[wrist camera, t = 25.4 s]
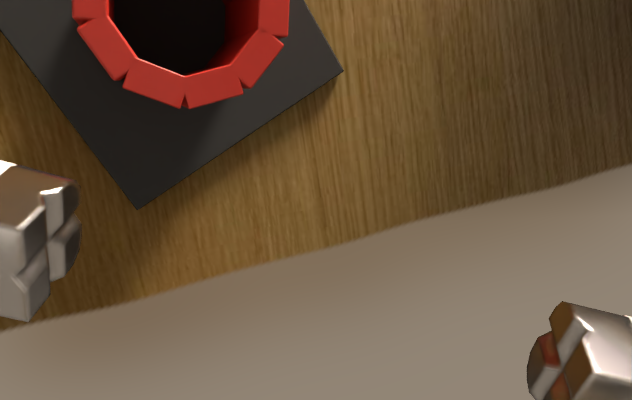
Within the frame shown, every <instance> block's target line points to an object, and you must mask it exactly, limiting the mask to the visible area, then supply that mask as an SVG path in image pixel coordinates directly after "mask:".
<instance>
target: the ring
mask: <svg viewBox="0 0 632 400" xmlns="http://www.w3.org/2000/svg"><path fill="white" fill-rule="evenodd" d="M222 2H223V3H224V5H225V40H224V43H223V44H222V46H221V47H220V48H219V50H218V51H217V52H216V53H215V55H214V56H213V57H212V59H211V60H210V61H209V62H208V64H207V65H206V66H205V68H204V69H200V70H197V71H193V72H189V73H185V74H181V75H180V74H178V73H175V72H173V71H170V70H167V69H165V68H162V67H160V66H157V65H155V64H152V63H149V62H147V61H144V60H142V59H139V58H138V57H137V55H136V54H135V52H134V51H133V50H132V48H131V47H130V45H129V44H128V43H127V41H126V40H125V38H124V37H123V35H122V34H121V33H120V31H119V30H118V28H117V27H116V25H115V24H114V0H72V17H73V19H74V20H75V21H76V22H77V23H78V24H79V25H80V26H79V27H78V28H77V32H78V33H79V34H80V36H81V37H82V39H83V40H84V41H85V43H86V44H87V45H88V47H89V48H90V50H91V51H92V52H93V54H94V55H95V56H96V58H97V59H98V61H99V62H100V63H101V65H102V66H103V68H104V69H105V70H106V72H107V73H108V74H109V76H110V77H111V79H112V80H114V81H119V80H121V79H123V78H125V80H124V83H123V85H122V88H123V89H126V90H129V91H132V92H134V93H137V94H140V95H143V96H145V97H148V98H151V99H153V100H156V101H159V102H162V103H164V104H167V105H170V106H173V107H175V108H178V109H180V108H181V105H182V106H184V107H186V108H188V109H193V108H196V107H200V106H204V105H207V104H211V103H214V102H218V101H222V100H225V99H229V98H233V97H236V96H240V95H243V90H242V88H246V89H251V88H252V87H253V86H254V85H255V83H256V82H257V81H258V80H259V78H260V77H261V76H262V74H263V73H264V72H265V70H266V69H267V68H268V67H269V65H270V64H271V63H272V61H273V60H274V59H275V58H276V56H277V55H278V54H279V52H280V51H281V50H282V48H283V47H284V44H283V43H282V42H281V41H279V40H278V39H281V38H285V37H287V36H288V23H289V2H290V0H222Z"/></svg>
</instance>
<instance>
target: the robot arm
mask: <svg viewBox="0 0 632 400" xmlns="http://www.w3.org/2000/svg"><path fill="white" fill-rule="evenodd" d="M80 204H81V186H80V185H79V184H78V182H77V181H76V180H73V179H70V178H66V177H62V176H58V175H55V174H51V173H47V172H44V171H40V170H36V169H33V168H29V167H25V166H22V165H16V164H14V163H10V162H6V161H2V160H0V316H3V317H7V318H12V319H16V320H21V321H25V322H29V321H30V320H31V318H32V317H33V316H34V315H35V313H36V312H37V311H38V310H39V308H40V307H41V306H42V305H43V303H44V302H45V301H46V299H47V298H48V297H49V296H50V282H52V281H55V280H57V279H60V278H62V277H64V276H65V275H66V274H67V272H68V271H69V270H70V268H71V267H72V266H73V264H74V261H75V259H76V257H77V254H78V252H79V249H80V244H81V238H82V224H81V222H80V221H79V219H78V218H77V217H76V215H75V214H74V211H75V209H76V208H77V207H78V206H79V205H80ZM549 321H550V325H551V328H552V331H550V332H548V333H546V334H544V335H542V336H540V337H538V338H537V340H536V342H535V344H534V346H533V348H532V350H531V352H530V356H529V361H528V365H527V383H528V388H529V393H530V394H531V395H532V396H533V397H534V399H535V400H632V317H630V316H626V315H622V316H621V315H617V314H613V313H609V312H605V311H600V310H597V309H592V308H588V307H584V306H579V305H576V304H572V303H567V302H563V301H562V302H561V303H560V304H559V305H558V306H556V308H555V309H554V311H553V312H552V314H551V316H550V317H549Z"/></svg>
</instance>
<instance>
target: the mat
mask: <svg viewBox="0 0 632 400" xmlns="http://www.w3.org/2000/svg"><path fill="white" fill-rule="evenodd" d="M114 24H115V25H116V27H117V28H118V30H119V31H120V33H121V34H122V35H123V37H124V38H125V40H126V41H127V43H128V44H129V45H130V47H131V48H132V50H133V51H134V52H135V54H136V55H137V57H138V58H139V59H142V60H144V61H147V62H149V63H152V64H155V65H157V66H160V67H162V68H165V69H167V70H170V71H173V72H175V73H178V74H180V75H181V74H185V73H189V72H193V71H197V70H200V69H204V68H205V66H206V65H207V64H208V62H209V61H210V60H211V59H212V57H213V56H214V55H215V53H216V52H217V51H218V50H219V48H220V47H221V46H222V44H223V43H224V40H225V5H224V3H223V2H222V0H114ZM79 26H80V25H79V24H78V23H77V22H76V21H75V20H74V19H73V17H72V0H0V31H1V32H2V33H3V35H4V36H5V37H6V39H7V40H8V41H9V42H10V44H11V45H12V46H13V48H14V49H15V50H16V52H17V53H18V54H19V56H20V57H21V58H22V60H23V61H24V62H25V63H26V65H27V66H28V67H29V69H30V70H31V71H32V73H33V74H34V75H35V77H36V78H37V79H38V81H39V82H40V83H41V84H42V86H43V87H44V88H45V90H46V91H47V92H48V94H49V95H50V96H51V98H52V99H53V100H54V102H55V103H56V104H57V105H58V107H59V108H60V109H61V111H62V112H63V113H64V115H65V116H66V117H67V119H68V120H69V121H70V123H71V124H72V125H73V126H74V128H75V129H76V130H77V132H78V133H79V134H80V136H81V137H82V138H83V140H84V141H85V142H86V144H87V145H88V146H89V147H90V149H91V150H92V151H93V153H94V154H95V155H96V157H97V158H98V159H99V161H100V162H101V163H102V165H103V166H104V167H105V168H106V170H107V171H108V172H109V174H110V175H111V176H112V178H113V179H114V180H115V182H116V183H117V184H118V186H119V187H120V188H121V189H122V191H123V192H124V193H125V195H126V196H127V197H128V199H129V200H130V201H131V203H132V204H133V205H134V207H135V208H136V209H137V210H138V209H140V208H141V207H143V206H144V205H146V204H147V203H149V202H150V201H152V200H153V199H155V198H156V197H158V196H159V195H161V194H162V193H164V192H165V191H167V190H168V189H170V188H171V187H172V186H174V185H175V184H177V183H178V182H180V181H181V180H183V179H184V178H186V177H187V176H189V175H190V174H192V173H193V172H195V171H196V170H198V169H199V168H201V167H202V166H204V165H205V164H207V163H208V162H210V161H211V160H213V159H214V158H216V157H217V156H218V155H220V154H221V153H223V152H224V151H226V150H227V149H229V148H230V147H232V146H233V145H235V144H236V143H238V142H239V141H241V140H242V139H244V138H245V137H247V136H248V135H250V134H251V133H253V132H254V131H256V130H257V129H259V128H260V127H261V126H263V125H264V124H266V123H267V122H269V121H270V120H272V119H273V118H275V117H276V116H278V115H279V114H281V113H282V112H284V111H285V110H287V109H288V108H290V107H291V106H293V105H294V104H296V103H297V102H299V101H300V100H302V99H303V98H304V97H306V96H307V95H309V94H310V93H312V92H313V91H315V90H316V89H318V88H319V87H321V86H322V85H324V84H325V83H327V82H328V81H330V80H331V79H333V78H334V77H336V76H337V75H339V74H340V73H342V72H343V71H344V70H343V68H342V67H341V65H340V63H339V61H338V60H337V58H336V56H335V54H334V53H333V51H332V49H331V47H330V45H329V44H328V42H327V40H326V38H325V37H324V35H323V33H322V31H321V30H320V28H319V26H318V24H317V23H316V21H315V19H314V17H313V16H312V14H311V12H310V10H309V9H308V7H307V5H306V3H305V2H304V0H290V2H289V23H288V36H287V37H285V38H281V39H278V40H279V41H281V42H282V43H283V44H284V47H283V48H282V50H281V51H280V52H279V54H278V55H277V56H276V58H275V59H274V60H273V61H272V63H271V64H270V65H269V67H268V68H267V69H266V70H265V72H264V73H263V74H262V76H261V77H260V78H259V80H258V81H257V82H256V83H255V85H254V86H253V87H252V88H251V89H246V88H242V90H243V95H240V96H236V97H233V98H229V99H225V100H222V101H218V102H214V103H211V104H207V105H204V106H200V107H196V108H193V109H188V108H186V107H184V106H182V105H181V108H180V109H178V108H175V107H173V106H170V105H167V104H164V103H162V102H159V101H156V100H153V99H151V98H148V97H145V96H143V95H140V94H137V93H134V92H132V91H129V90H126V89H123V88H122V85H123V83H124V80H125V78H123V79H121V80H119V81H114V80H112V79H111V77H110V76H109V74H108V73H107V72H106V70H105V69H104V68H103V66H102V65H101V63H100V62H99V61H98V59H97V58H96V56H95V55H94V54H93V52H92V51H91V50H90V48H89V47H88V45H87V44H86V43H85V41H84V40H83V39H82V37H81V36H80V34H79V33H78V32H77V28H78V27H79Z"/></svg>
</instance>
